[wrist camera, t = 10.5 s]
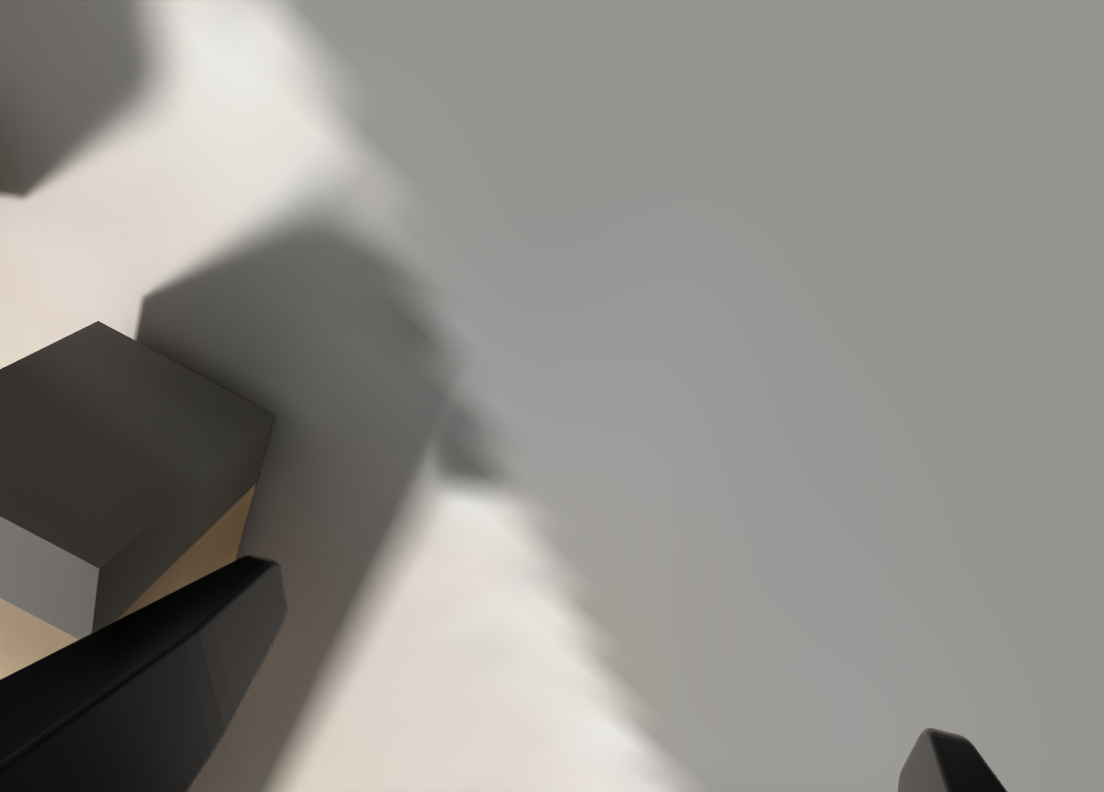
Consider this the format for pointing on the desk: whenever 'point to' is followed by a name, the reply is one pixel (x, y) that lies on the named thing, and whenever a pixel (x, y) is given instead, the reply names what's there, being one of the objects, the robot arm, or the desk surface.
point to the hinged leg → (113, 486)
